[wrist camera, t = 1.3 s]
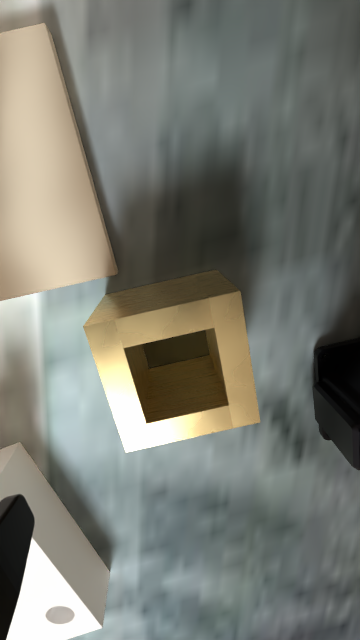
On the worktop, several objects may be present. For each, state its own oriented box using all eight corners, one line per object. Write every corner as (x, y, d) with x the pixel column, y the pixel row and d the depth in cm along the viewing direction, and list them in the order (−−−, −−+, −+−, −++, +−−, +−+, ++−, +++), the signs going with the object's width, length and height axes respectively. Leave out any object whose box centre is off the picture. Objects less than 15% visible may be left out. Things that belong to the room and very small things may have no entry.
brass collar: (216, 269, 16) (240, 290, 11) (233, 368, 18) (260, 422, 13) (105, 294, 16) (83, 326, 11) (134, 390, 18) (125, 452, 13)
